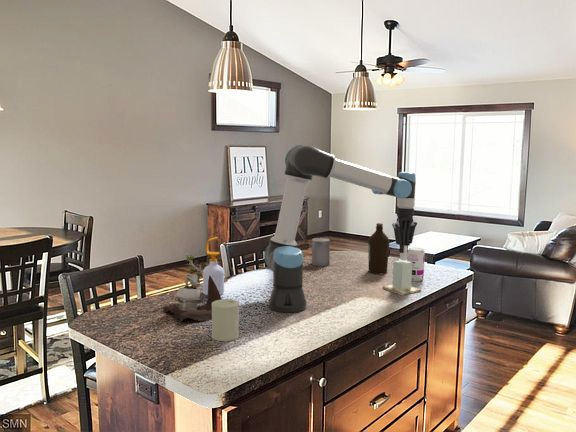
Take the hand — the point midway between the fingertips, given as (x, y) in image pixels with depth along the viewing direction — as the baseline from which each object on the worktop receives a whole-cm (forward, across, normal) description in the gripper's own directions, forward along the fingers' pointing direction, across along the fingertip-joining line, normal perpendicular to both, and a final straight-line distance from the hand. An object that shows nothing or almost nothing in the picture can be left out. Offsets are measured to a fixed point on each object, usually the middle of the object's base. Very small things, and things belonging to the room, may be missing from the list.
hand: (403, 259), depth 233 cm
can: (+14, +92, +14) cm, 95 cm away
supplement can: (+14, -19, -11) cm, 26 cm away
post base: (+14, 0, 0) cm, 14 cm away
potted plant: (+14, +92, -13) cm, 94 cm away
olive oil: (+14, -12, -31) cm, 36 cm away
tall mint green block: (+13, 0, 0) cm, 13 cm away
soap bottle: (+14, +77, -34) cm, 85 cm away
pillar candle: (+14, +4, -59) cm, 61 cm away
